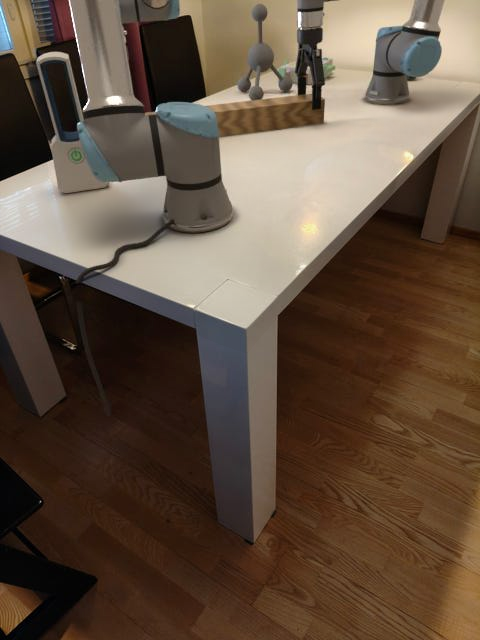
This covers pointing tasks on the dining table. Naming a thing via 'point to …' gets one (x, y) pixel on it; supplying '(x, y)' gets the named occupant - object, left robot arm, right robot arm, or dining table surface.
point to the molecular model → (261, 61)
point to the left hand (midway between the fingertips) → (127, 125)
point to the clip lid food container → (289, 71)
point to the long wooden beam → (266, 114)
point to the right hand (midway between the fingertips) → (308, 103)
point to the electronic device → (66, 134)
